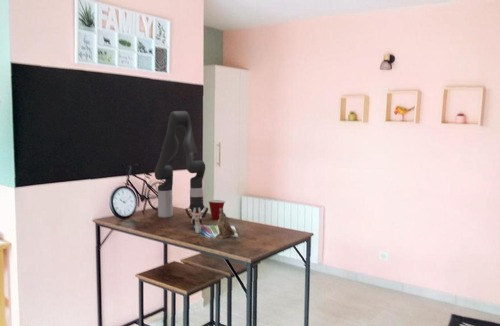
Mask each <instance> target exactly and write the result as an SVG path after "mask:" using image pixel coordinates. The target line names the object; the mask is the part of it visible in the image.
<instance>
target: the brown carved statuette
mask: <svg viewBox="0 0 500 326" xmlns="http://www.w3.org/2000/svg"><path fill="white" fill-rule="evenodd" d="M219 211H220V213H219V219H218V220H217V228H218V232H219V233H218V234H216V236H215V239H220V240H224V239H227V238H230V237H232V236H235V231H234V230H233V228H232V227H231V224H230V223H229V221H228V219H227V214H226V213H225V212H224V208H223V209H222V208H220V209H219Z"/></svg>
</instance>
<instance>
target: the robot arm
mask: <svg viewBox="0 0 500 326" xmlns="http://www.w3.org/2000/svg"><path fill="white" fill-rule="evenodd" d="M182 127H183V129H184V132H185V135H184V138H183V140H182V141H183V142H182V148H183V150H184V154H185V158H186V159H185V161H186V170H187V172H188V173H190V174H195V176H192V177H191V178H190V179H189V180H190V181H189V186H190V187H189V188H190V190H189V206H188V207H186V208H185V209H184V210H185V212H186V214H187V216H188V219H192V221H191V225H193V227H194V226H195V219H194V217H195V213H199V222H200V224H201V225H202V224H203V223H202V222H203V220H202V219H205V217H206V215H207V213H208V211H209V207H207V206H205V205H204V187H203V182H204V181H203V180H204V175H205V171H206V164H205V162H204V161H203V160H194V159H196V158H198V156H199V152H198V149H197V145H196V142H195V138H194V134H193V127H192V121H191V117H190V114H189V112H188V111H186V110H175V111H171V112H170V115H169V117H168V123H167V127H166V134H165V138H164V141H163V144H162V147H161V151H160V156H159V158H158V161H157V163H156V166H155V168H154V178H155V179H156V180H157V181H163V183H161V184H159V185H158V186H157V213H158V214H157V215H158V216H157V217H158V218H171V217H173V214H174V212H173V209H174V208H173V186H174V185H173V184H174V169H173V167H172V165H169V164H168V163H169V162H170V161H171V160H172V159H173V158H174V157H175V156H176V155H177V152H178V149H179V145H180V142H179V140H178V137H177V135H176V130H177V128H182ZM191 211H192V212H193V213H192V216H191V213H190V212H191ZM202 211H203V214H202Z"/></svg>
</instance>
